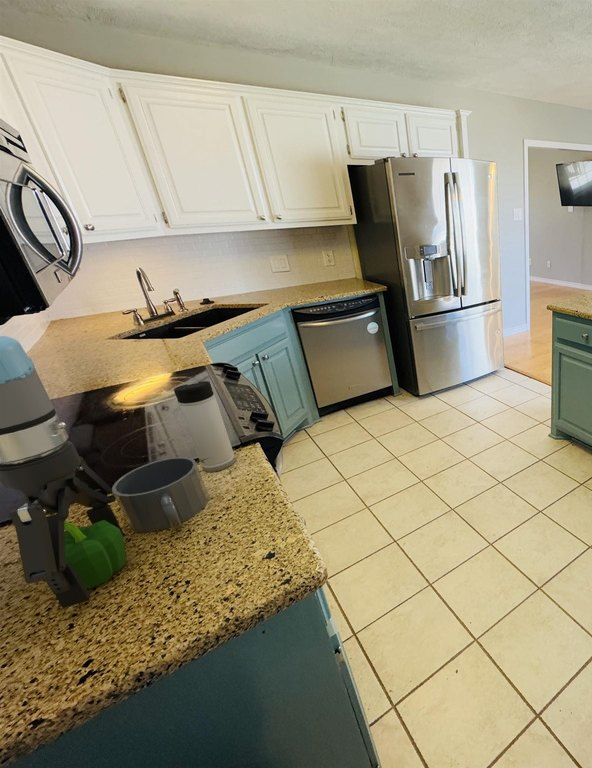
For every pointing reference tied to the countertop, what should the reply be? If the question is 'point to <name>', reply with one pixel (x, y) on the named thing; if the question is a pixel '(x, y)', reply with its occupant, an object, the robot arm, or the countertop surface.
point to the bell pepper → (94, 551)
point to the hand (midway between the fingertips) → (97, 568)
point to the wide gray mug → (161, 494)
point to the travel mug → (205, 425)
